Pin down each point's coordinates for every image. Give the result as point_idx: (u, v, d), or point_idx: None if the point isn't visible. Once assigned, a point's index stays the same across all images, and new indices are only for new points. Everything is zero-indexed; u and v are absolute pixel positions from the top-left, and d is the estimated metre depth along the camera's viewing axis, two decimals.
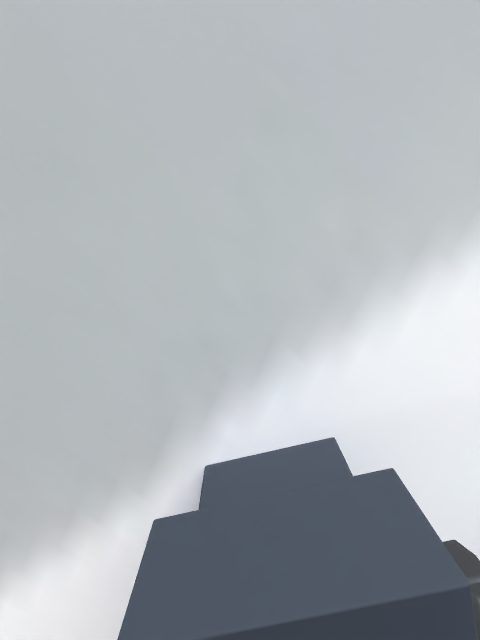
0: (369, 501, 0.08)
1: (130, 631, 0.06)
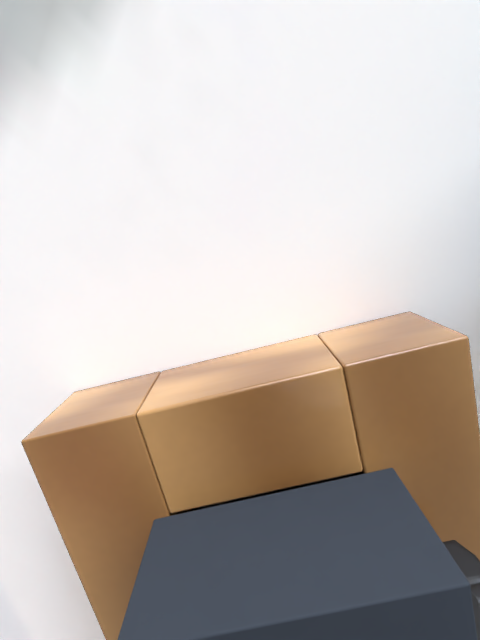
0: (369, 500, 0.08)
1: (130, 630, 0.06)
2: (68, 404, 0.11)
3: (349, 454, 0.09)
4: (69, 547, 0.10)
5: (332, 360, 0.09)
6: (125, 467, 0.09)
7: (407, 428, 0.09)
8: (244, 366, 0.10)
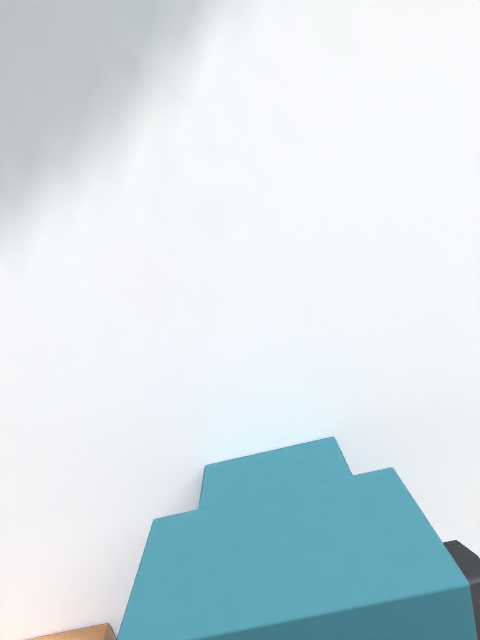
0: None
1: None
2: None
3: None
4: None
5: None
6: None
7: None
8: None
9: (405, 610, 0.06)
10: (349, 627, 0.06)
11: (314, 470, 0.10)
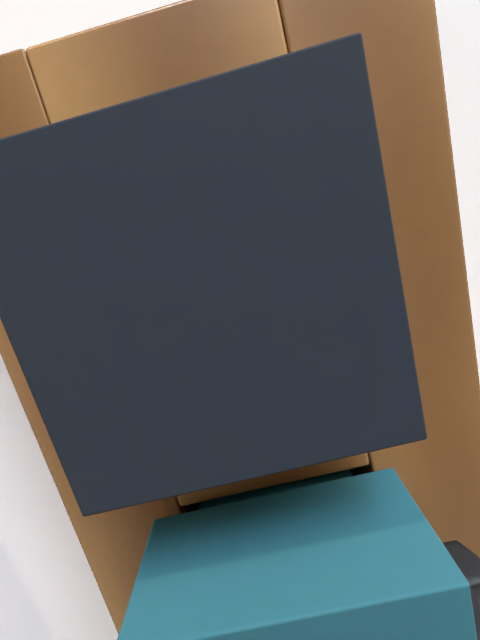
0: None
1: None
2: None
3: None
4: None
5: None
6: (16, 126, 0.08)
7: None
8: None
9: (405, 611, 0.06)
10: (350, 628, 0.06)
11: None
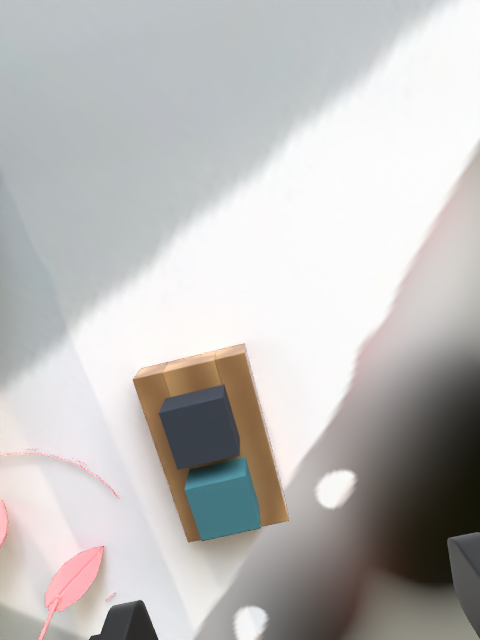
0: (214, 390, 0.34)
1: (161, 410, 0.33)
2: (141, 371, 0.37)
3: (217, 383, 0.35)
4: (143, 409, 0.35)
5: (213, 358, 0.35)
6: (159, 386, 0.35)
7: (232, 375, 0.35)
8: (192, 360, 0.36)
9: (235, 480, 0.34)
10: (226, 484, 0.34)
11: None
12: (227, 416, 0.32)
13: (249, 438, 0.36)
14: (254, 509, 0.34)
